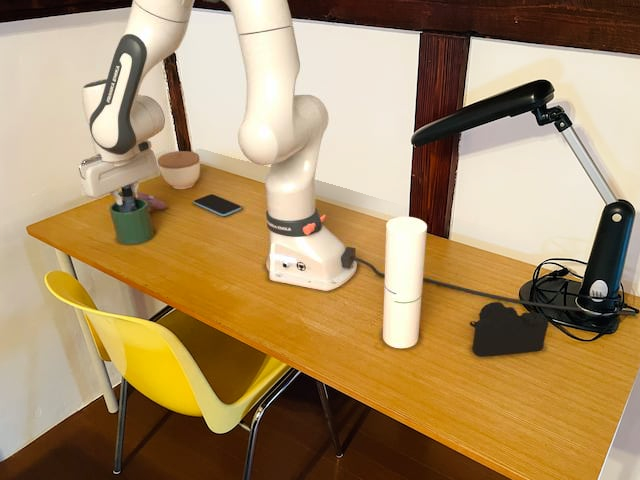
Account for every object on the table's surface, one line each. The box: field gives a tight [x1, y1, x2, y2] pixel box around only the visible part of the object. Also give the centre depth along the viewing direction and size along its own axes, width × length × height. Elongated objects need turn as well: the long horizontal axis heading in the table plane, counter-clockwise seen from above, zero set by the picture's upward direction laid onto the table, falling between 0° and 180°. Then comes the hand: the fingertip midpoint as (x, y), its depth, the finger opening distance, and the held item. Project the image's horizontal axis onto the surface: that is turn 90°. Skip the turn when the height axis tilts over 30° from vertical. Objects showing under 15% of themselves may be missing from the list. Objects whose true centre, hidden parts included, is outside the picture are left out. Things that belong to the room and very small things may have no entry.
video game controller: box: [137, 192, 167, 213], centre depth 155 cm, size 10×5×7 cm, turn 73°
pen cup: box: [108, 198, 155, 246], centre depth 140 cm, size 9×9×9 cm
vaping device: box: [118, 185, 137, 213], centre depth 137 cm, size 3×5×12 cm, turn 58°
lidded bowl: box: [157, 150, 201, 190], centre depth 169 cm, size 13×13×11 cm
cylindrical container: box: [382, 216, 428, 349], centre depth 100 cm, size 7×7×25 cm
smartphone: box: [193, 193, 243, 217], centre depth 158 cm, size 7×1×15 cm
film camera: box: [469, 301, 550, 358], centre depth 104 cm, size 15×10×9 cm, turn 98°
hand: (127, 201), depth 137 cm, fingers closed on vaping device, 2 cm apart
